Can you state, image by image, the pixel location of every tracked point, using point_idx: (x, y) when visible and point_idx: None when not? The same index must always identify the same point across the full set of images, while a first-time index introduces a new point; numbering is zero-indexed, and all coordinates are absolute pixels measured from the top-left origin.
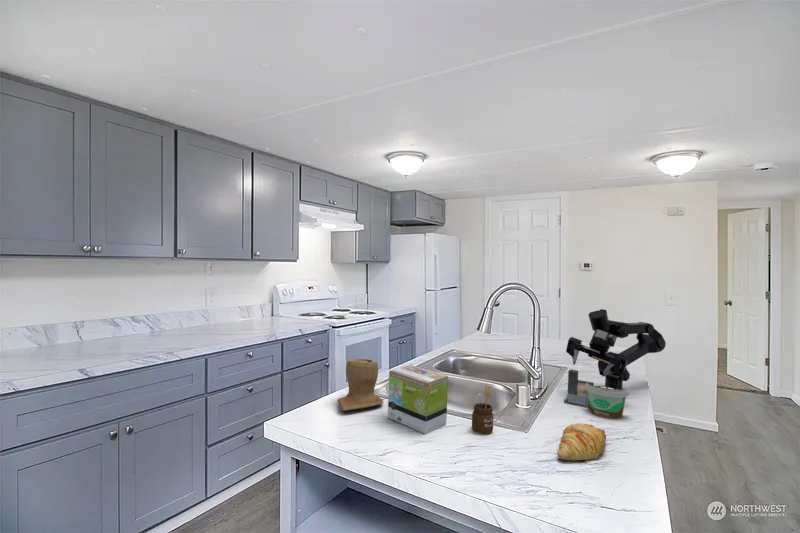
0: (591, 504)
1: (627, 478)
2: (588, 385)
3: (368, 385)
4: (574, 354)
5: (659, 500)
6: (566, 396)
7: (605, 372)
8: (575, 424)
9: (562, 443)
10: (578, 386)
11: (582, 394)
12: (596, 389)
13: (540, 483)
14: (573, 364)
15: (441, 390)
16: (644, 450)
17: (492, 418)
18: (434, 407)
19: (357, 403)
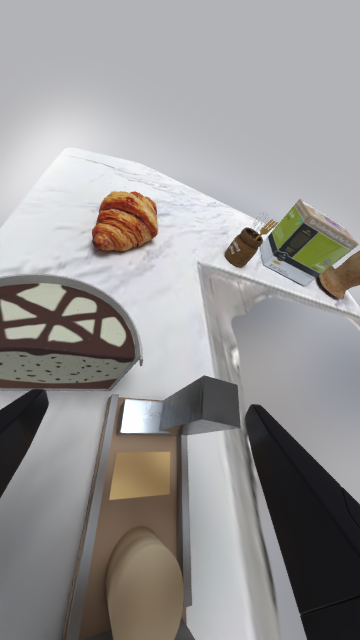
0: (121, 170)
1: (79, 186)
2: (132, 324)
3: (343, 265)
4: (336, 483)
5: (55, 161)
6: (186, 440)
7: (11, 403)
8: (145, 208)
9: (154, 204)
10: (165, 547)
11: (139, 422)
12: (102, 295)
13: (159, 191)
14: (249, 417)
15: (293, 223)
16: (17, 233)
17: (235, 240)
18: (277, 232)
19: None
